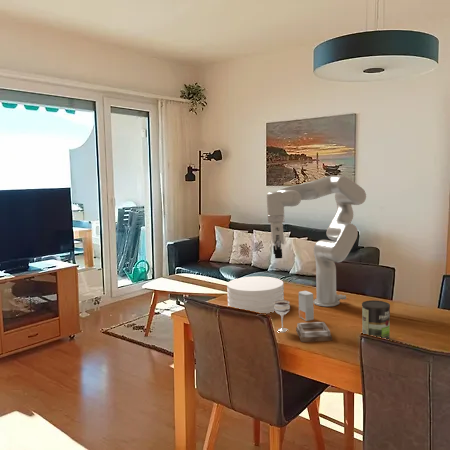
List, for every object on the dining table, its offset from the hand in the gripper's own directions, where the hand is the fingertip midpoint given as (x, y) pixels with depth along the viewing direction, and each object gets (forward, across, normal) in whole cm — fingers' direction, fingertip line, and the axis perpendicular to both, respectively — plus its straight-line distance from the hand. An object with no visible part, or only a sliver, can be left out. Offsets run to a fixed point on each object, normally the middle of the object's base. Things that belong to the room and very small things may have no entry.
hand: (277, 255), depth 205 cm
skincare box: (+28, -7, -11) cm, 31 cm away
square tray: (+28, -28, -11) cm, 41 cm away
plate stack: (+28, +14, +11) cm, 33 cm away
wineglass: (+28, -21, +1) cm, 35 cm away
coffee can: (+28, -33, -34) cm, 55 cm away
